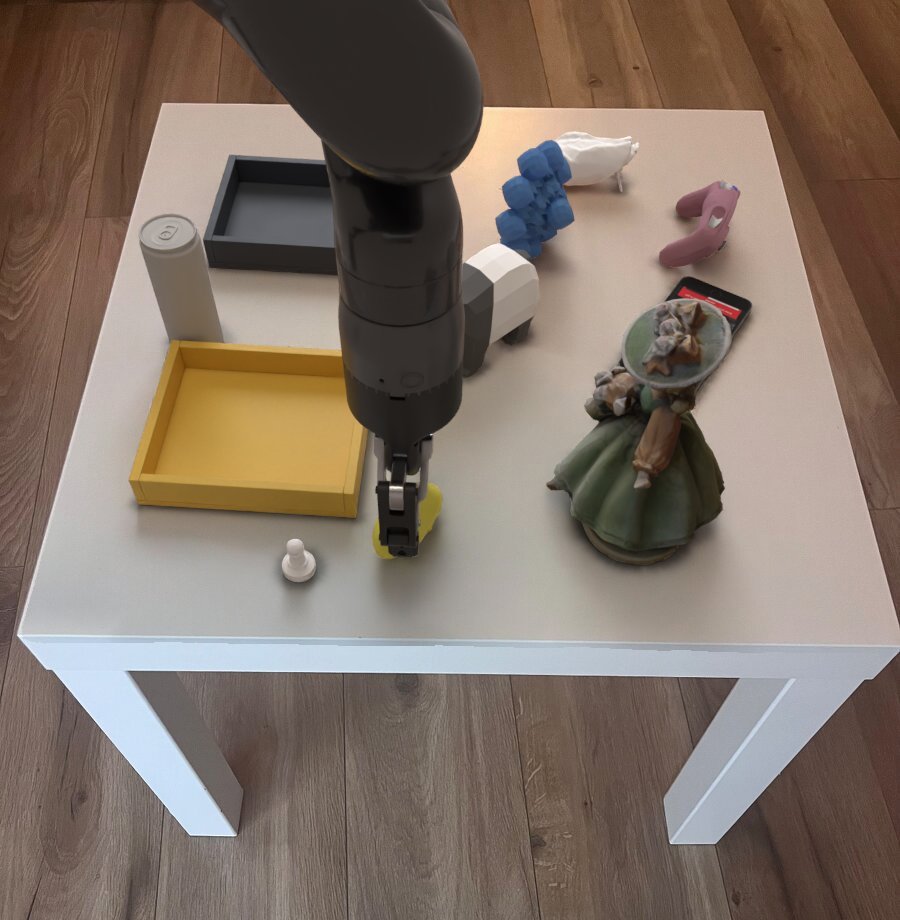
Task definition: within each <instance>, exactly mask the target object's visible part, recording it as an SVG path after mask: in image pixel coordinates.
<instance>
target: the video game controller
mask: <svg viewBox="0 0 900 920" xmlns="http://www.w3.org/2000/svg"><path fill="white" fill-rule="evenodd" d="M740 197H741V190H739V188H738V187H737V186H736V185H733V184H732V183H731V182H725V179H724V178H722V179H721V180H717V181H716V180H715V181H714V182H712V183H710V184H708V185H707V186H705V187H702V188H701V189H697V190H694V191H691V192H689V193H687V194H685V195H683V196H682V197H681V198H680V199H679V200H678V201H677V202H676V205H675V211H676V213H677V215H678V216H680V217H683V218H689V219H690V218H692V219H693V218H700V220H699V221H698V224H697V225H696V226H695V227H696V228H695V230H694V232H692V233H690V234H689V235H688V236H686V237H683V238H681V239H678V240H676V241H674V242H671V243H669V244H667V245H666V246H664V247H663V248H662V249H661V250H660V252H659V254H658V261H659V262H660V264H661V265H662V266H664V267H669V268H682V267H687V266H690V265H692V264H695V263H697V262H699V261H701V260H703V259H708V258H710V257H711V256H713V255H714V254H715V253H716V252H717V253H719V252H721V251H724V249H725V248H726V245H727V240H726V239H727V237H728V235H729V233H730V226H729V224H730V223H731V221H732V218H733V216H734V213H735V210H736V208H737V205H738V201H739V199H740Z"/></svg>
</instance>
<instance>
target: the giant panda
mask: <svg viewBox="0 0 900 920" xmlns="http://www.w3.org/2000/svg"><path fill="white" fill-rule="evenodd" d="M539 278H540V277H539V275H538V273H537V269H536V266H535V265H534V264H533V262H532V260H531V256H530V255H529V254H528V253H527V251H524V250H520V249H514V250H512V249H510V248H508V247H506V246H505V245H503V244H500V242H498V243H497V242H496V243H492V244H490V245H488V246H487V247H485V248H482V249H481V250H479V251H478V252H476V253H475V254H474V255H472V256H471V257H470V258H468V259H467V260H465V261H463V267H462V296H463V303H464V312H465V334H464V360H463V378H465V379H466V378H468V377H471V376H472V375H474V374H475V373H477V372H478V371H479V370H480V369H481V368H482V367H483V365H484V360H485V357H486V353H487V351H488V349H489V348H490V346H491V345H492V344H493V343H495V342H497V341H498V340H500V339H501V340H502V341H503V343H504V344H506V345H508V346H514V345H516V344H518V343H519V342H521V341H523V340H524V339H525V338H526V337H527V336H528V335H529V329H530V326H531V323H532V321H533V319H534V318H535V315H536V314H537V313H536V312H537V310H538V306H539V303H540V279H539Z"/></svg>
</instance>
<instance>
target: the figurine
mask: <svg viewBox="0 0 900 920" xmlns="http://www.w3.org/2000/svg"><path fill="white" fill-rule="evenodd" d="M663 302H664V301H663ZM663 302H661V303H658V304H656V305H654V306H652V307H650V308H649V309H647V310H645V311H643V312H641V313H639V314H638V316H636V317H635V318H634V319H633V320H632V321H631V323H630V324H629V325H628V326H627V328H626V330H625V331H624V333H623V337H622V341H621V348H620V356H621V358H622V360H623V364H624V366H625V368H626V369H625V368H624V367H621V366H618V365H613V366H612V367H611V368H609V370H608V371H604V370H602V371H599V372H596V374H594V385H595V388H594V390H593V392H592V396H591V397H589V398H587V399H586V401H585V403H584V409H585V412H586V413H587V415H589V417H590V418H591V419H592V420H593V421H596V422H598V423H597V424H596V425H595V426H594V427H593V429H591V431H590V432H589V433H588V434H587V435H586V436H585V437H583V439H582V440H581V441H580V442H579V443H577V445H576V446H575V447H574V448H573V449H572V450H571V451H570V452H569V453H568V454H567V455H566V456H565V457H564V458H563V459H562V460H561V461H560V462H559V463H558V464H556V466H555V467H554V469H553V475H554V477H553V478H552V479H550V481H547V482H546V483H545V486H546V487H547V488H548V490H550V491H555V492H556V491H557V492H558V491H564V493H566V495H568V497H569V498H570V502H571V504H570V509H569V511H570V515H571V517H572V518H574V519H575V520H578V521H580V522H581V523H582V526H583V529H584V532H585V534H586V536H587V538H588V540H589V541H590V543H591V544H592V545H593V546H594V547H595V548H596V549H597V550H598V551H599V552H601V553H602V554H605V555H607V556H608V558H610V559H611V560H613V561H616V562H619V563H624V564H630V565H633V566H641V565H642V566H648V565H652V564H654V563H657V562H662V561H665V560H666V559H668V558H669V557H671V556H672V555H673V554H674V553H675V551H676V550H677V549H679V548H680V547H681V546H682V545H686V544H688V543H690V542H691V541H692V540H693V539H694V537H696V531H697V530H699V529H701V527H704V526H706V525H708V524H710V523H711V522H713V521H714V520H716V519H717V518H718V517H719V516H720V514H721V513H722V511H723V509H724V506H723V505H724V504H723V502H722V494H723V493H724V491H725V489H726V486H725V485H724V484H725V481H724V477H723V472H722V470H721V468H720V465H719V462H718V460H717V458H716V455H715V453H714V452H713V450H712V448H711V447H710V446H709V444H708V442H707V441H706V438H705V436H704V433H703V431H702V429H701V428H700V426H699V424H698V422H697V420H696V419H695V417H694V414H693V413H692V412H691V411H692V410H694V409H695V407H696V396H695V394H696V392H695V390H696V386H697V381H700V380H702V379H704V378H705V379H706V378H707V377H708V376H710V375H711V374H713V373H714V372H715V371H716V370H717V369H718V367H719V366H720V365H721V364H722V363H723V362H724V361H725V359H726V357H727V355H728V353H729V350H730V348H731V345H732V342H733V337H732V334H731V329H730V324H729V323H728V321H727V320H726V318H725V317H724V316H723V315H722V312H721V310H719V309H718V308H717V307H715V306H714V305H712V304H710V303H707V302H705V301H703V300H697V299H685V298H684V299H675V300H670V301H667V302H664V303H663ZM626 370H627V371H626ZM627 372H628V373H627ZM705 379H704V380H705Z"/></svg>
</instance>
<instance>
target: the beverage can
mask: <svg viewBox="0 0 900 920" xmlns="http://www.w3.org/2000/svg"><path fill="white" fill-rule="evenodd" d="M137 235H138V238H139V241H138V245H139V247H140V251H141V254H142V258H143V260H144V264H145V266H146V267H145V268H146V270H147V273H148V276H149V279H150V283H151V286H152V289H153V292H154V293H153V294H154V297H155V299H156V302H157V305H158V309H159V312H160V315H161V319H162V322H163V326H164V328H165V331H166V335H167V338H168V341H169V345H170V344H171V341H172V340H180V341H197V342H214V343H224V333H223V329H222V325H221V321H220V316H219V312H218V309H217V304H216V300H215V295H214V291H213V288H212V284H211V283H212V282H211V279H210V274H209V269H208V265H207V259H206V256H205V255H206V254H205V250H204V248H203V247H204V246H203V241H202V238H201V236H200V232H199V230H198V229H197V226H196V224H195V222H194V220H192V219H191V218H189V217H188V216H187V215H183V214H181V213H161V214H157V215H155V216H151V217H150V218H148V219H147V220H145V221H144V222H143V223H142V224H141V225H140V228H139V229H138V234H137Z"/></svg>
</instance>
